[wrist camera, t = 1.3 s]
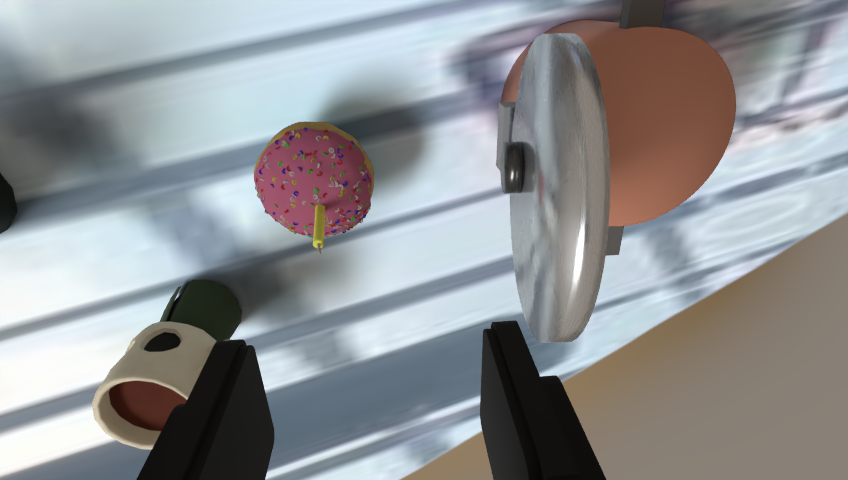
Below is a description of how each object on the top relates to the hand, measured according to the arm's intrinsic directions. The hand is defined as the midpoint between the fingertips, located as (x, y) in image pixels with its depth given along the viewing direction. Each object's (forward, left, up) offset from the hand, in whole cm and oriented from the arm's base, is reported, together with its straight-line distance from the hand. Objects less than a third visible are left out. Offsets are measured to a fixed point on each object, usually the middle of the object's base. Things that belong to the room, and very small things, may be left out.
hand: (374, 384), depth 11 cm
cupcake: (+4, -5, -30) cm, 30 cm away
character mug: (+17, -17, -30) cm, 38 cm away
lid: (0, +8, -12) cm, 14 cm away
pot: (0, +14, -29) cm, 33 cm away
